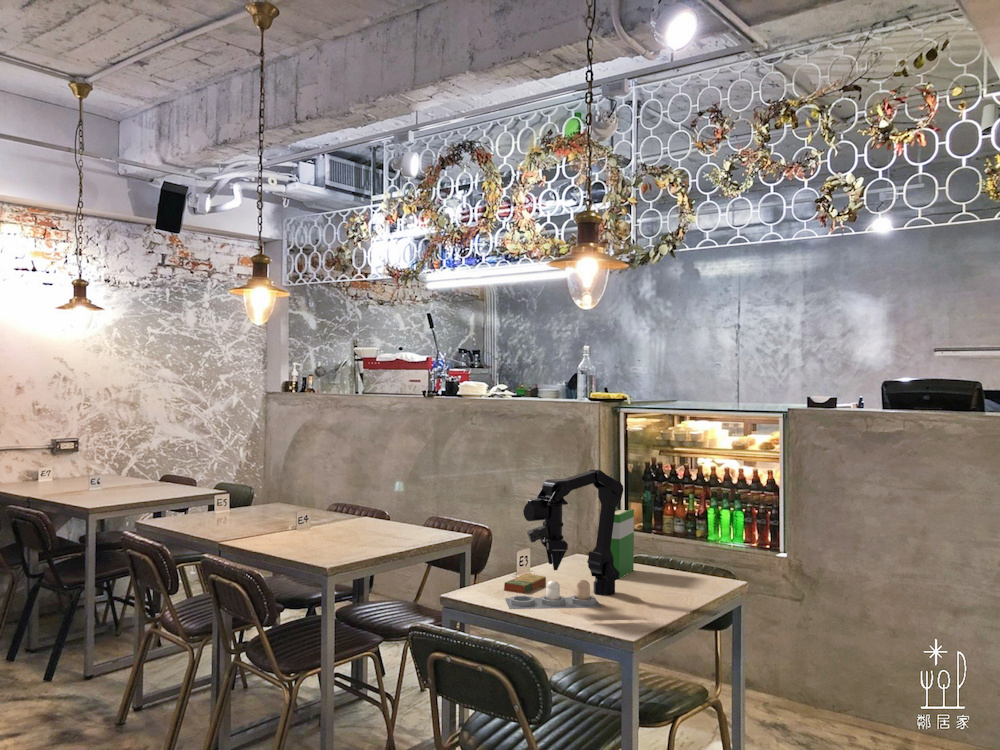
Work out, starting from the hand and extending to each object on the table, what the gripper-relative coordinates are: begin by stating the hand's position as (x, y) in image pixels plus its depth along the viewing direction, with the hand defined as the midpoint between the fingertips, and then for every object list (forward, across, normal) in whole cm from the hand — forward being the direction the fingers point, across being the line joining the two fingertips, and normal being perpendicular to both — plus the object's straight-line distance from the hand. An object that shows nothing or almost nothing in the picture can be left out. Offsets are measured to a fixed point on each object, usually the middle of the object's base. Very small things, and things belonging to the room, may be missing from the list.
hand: (552, 567), depth 254 cm
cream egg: (+12, 0, 0) cm, 12 cm away
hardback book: (+13, -44, +33) cm, 57 cm away
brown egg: (+12, 0, +10) cm, 15 cm away
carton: (+13, -21, -6) cm, 26 cm away
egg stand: (+12, 0, 0) cm, 13 cm away
